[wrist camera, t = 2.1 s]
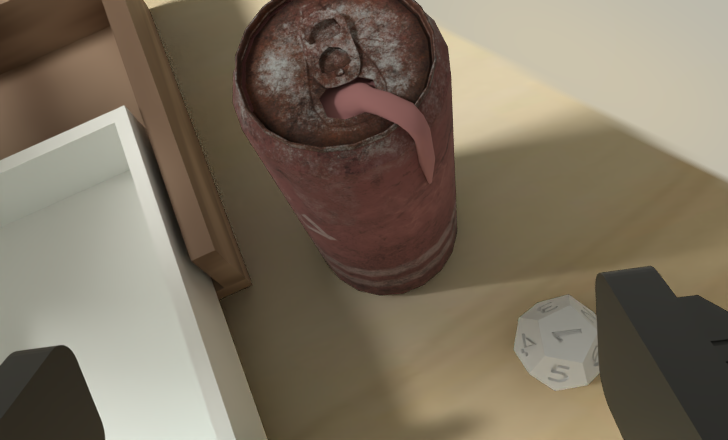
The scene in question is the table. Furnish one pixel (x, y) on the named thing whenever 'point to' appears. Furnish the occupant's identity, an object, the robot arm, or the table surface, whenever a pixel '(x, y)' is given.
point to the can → (356, 132)
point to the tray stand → (112, 106)
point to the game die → (559, 343)
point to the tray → (117, 286)
